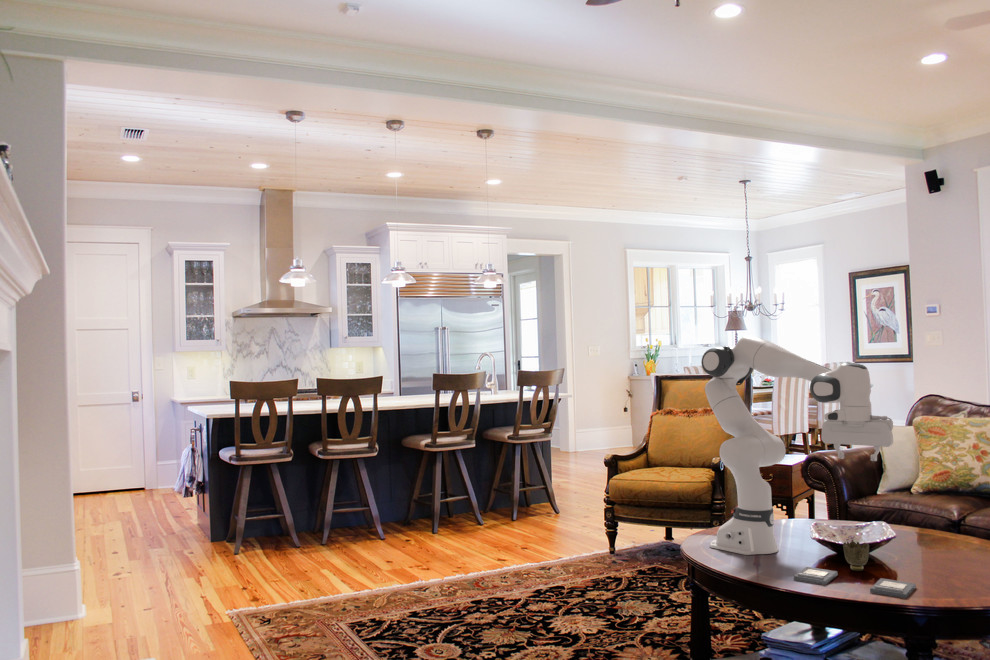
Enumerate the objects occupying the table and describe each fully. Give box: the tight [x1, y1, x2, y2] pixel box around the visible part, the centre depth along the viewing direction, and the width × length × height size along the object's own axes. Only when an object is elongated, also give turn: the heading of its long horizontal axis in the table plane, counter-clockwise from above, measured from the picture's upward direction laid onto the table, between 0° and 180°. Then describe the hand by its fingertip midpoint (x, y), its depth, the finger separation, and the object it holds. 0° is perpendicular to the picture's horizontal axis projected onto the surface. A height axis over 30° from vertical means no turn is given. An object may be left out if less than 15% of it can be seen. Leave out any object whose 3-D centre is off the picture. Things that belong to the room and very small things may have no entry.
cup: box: [842, 540, 870, 572], centre depth 233 cm, size 8×7×8 cm
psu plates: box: [793, 566, 917, 600], centre depth 220 cm, size 30×12×2 cm, turn 50°
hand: (857, 459), depth 235 cm, fingers open, 8 cm apart
